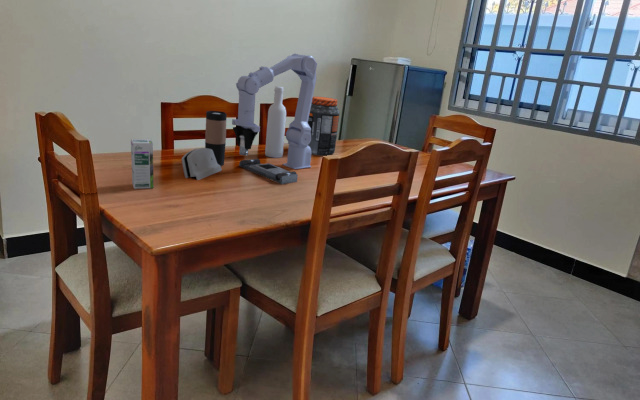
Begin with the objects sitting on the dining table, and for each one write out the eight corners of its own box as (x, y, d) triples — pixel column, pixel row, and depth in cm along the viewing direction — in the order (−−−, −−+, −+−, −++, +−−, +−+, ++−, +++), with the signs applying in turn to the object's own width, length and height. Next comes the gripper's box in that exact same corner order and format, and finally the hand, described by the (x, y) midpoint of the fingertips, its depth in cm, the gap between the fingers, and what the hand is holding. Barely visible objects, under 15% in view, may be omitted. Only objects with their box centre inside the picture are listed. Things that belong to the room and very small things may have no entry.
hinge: (197, 180, 148) (189, 151, 146) (186, 182, 150) (177, 154, 148) (222, 170, 163) (215, 143, 161) (211, 172, 165) (204, 146, 163)
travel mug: (200, 163, 168) (201, 111, 162) (212, 160, 175) (214, 110, 169) (217, 167, 166) (219, 114, 159) (228, 164, 172) (230, 113, 166)
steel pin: (245, 152, 165) (246, 134, 162) (251, 155, 162) (252, 136, 160) (236, 153, 162) (237, 134, 160) (242, 155, 159) (243, 137, 157)
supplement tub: (305, 147, 219) (310, 94, 211) (336, 151, 218) (342, 99, 209) (299, 153, 204) (305, 97, 196) (332, 158, 203) (339, 101, 194)
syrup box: (133, 189, 133) (132, 142, 128) (131, 183, 137) (130, 138, 133) (153, 188, 135) (153, 142, 131) (151, 183, 140) (150, 138, 135)
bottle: (286, 156, 196) (292, 88, 186) (275, 158, 189) (281, 88, 180) (272, 152, 199) (277, 85, 190) (261, 154, 193) (266, 85, 183)
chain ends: (255, 164, 177) (255, 156, 176) (297, 181, 160) (298, 172, 159) (238, 166, 171) (238, 157, 170) (280, 184, 154) (281, 175, 153)
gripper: (225, 107, 159) (224, 144, 163) (249, 114, 149) (246, 153, 154) (241, 107, 164) (240, 142, 168) (265, 114, 154) (262, 151, 158)
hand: (244, 147), depth 161 cm, fingers closed on steel pin, 4 cm apart
